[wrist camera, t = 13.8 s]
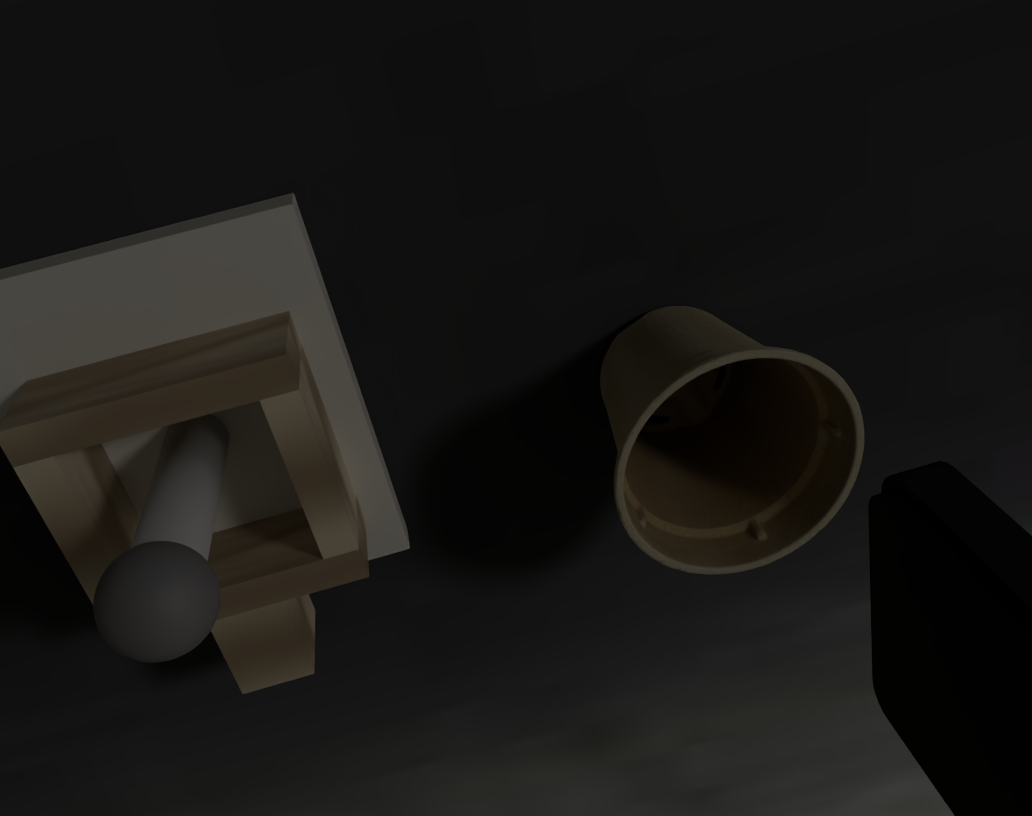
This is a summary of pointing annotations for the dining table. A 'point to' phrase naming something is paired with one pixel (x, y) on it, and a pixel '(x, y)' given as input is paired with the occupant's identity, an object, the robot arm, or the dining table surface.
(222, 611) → the birch loop
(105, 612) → the post stand
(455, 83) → the dining table surface
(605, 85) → the dining table surface
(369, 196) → the dining table surface
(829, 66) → the dining table surface
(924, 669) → the robot arm
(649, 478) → the flower pot
